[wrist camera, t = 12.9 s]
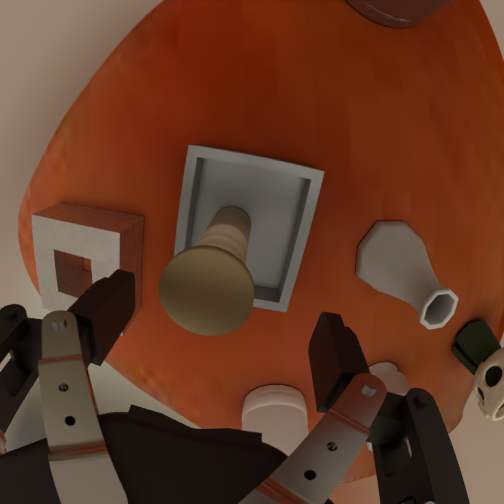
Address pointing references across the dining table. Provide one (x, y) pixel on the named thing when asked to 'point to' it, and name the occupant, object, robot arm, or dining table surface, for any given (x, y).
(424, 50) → the dining table surface
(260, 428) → the bottle
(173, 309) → the pin
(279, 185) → the tray
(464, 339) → the character mug
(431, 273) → the flask
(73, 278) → the hitch block
